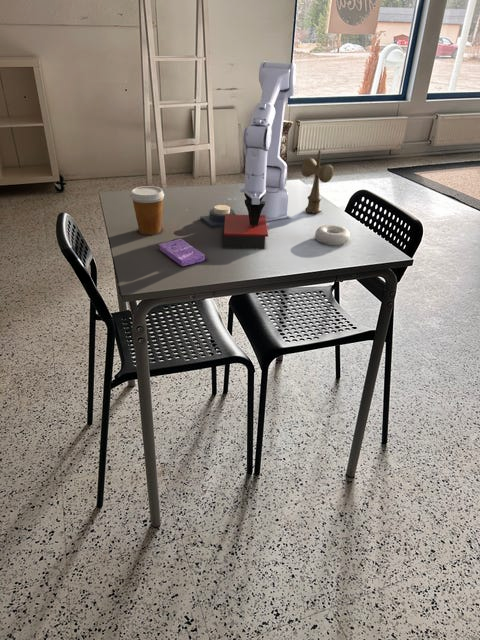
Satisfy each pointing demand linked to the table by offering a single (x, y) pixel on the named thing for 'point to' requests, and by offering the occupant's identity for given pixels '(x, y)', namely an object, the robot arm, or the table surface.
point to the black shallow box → (244, 242)
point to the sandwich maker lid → (244, 226)
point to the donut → (332, 235)
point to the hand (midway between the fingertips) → (253, 221)
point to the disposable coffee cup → (148, 208)
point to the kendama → (316, 181)
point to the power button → (221, 209)
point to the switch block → (215, 218)
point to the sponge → (182, 252)
